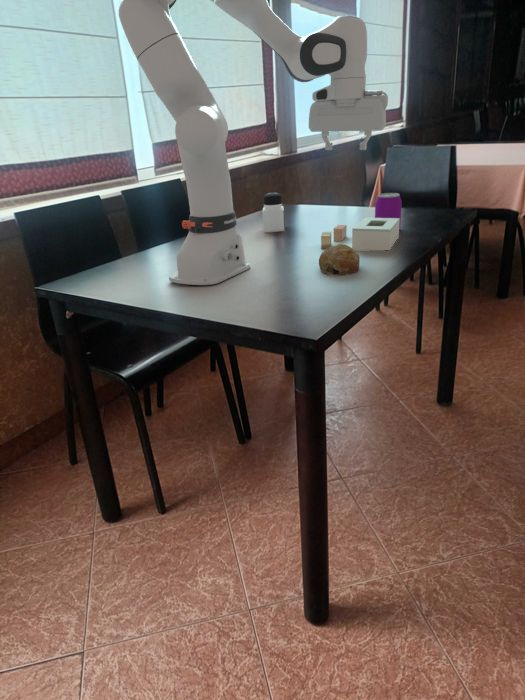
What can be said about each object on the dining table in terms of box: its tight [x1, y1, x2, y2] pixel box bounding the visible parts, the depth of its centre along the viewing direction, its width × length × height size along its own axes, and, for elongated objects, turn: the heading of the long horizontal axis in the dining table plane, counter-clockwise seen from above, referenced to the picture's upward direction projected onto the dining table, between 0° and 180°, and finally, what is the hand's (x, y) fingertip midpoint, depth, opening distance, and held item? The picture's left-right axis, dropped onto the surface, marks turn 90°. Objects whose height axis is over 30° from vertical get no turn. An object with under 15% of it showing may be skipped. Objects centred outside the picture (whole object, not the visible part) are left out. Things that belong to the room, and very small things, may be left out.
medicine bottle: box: [262, 192, 286, 234], centre depth 166 cm, size 7×7×12 cm
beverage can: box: [374, 192, 403, 231], centre depth 149 cm, size 8×8×12 cm
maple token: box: [320, 231, 332, 250], centre depth 140 cm, size 5×2×4 cm, turn 169°
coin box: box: [351, 217, 400, 252], centre depth 137 cm, size 14×10×7 cm
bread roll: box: [318, 243, 360, 276], centre depth 119 cm, size 10×10×8 cm
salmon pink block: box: [333, 224, 347, 242], centre depth 147 cm, size 5×2×4 cm, turn 156°
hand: (345, 149), depth 133 cm, fingers open, 8 cm apart
